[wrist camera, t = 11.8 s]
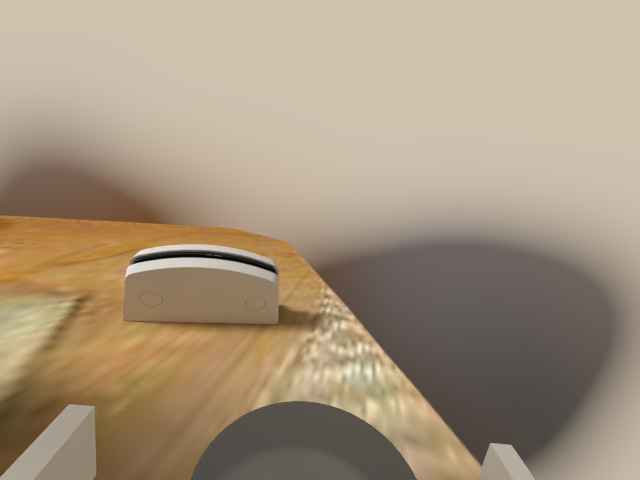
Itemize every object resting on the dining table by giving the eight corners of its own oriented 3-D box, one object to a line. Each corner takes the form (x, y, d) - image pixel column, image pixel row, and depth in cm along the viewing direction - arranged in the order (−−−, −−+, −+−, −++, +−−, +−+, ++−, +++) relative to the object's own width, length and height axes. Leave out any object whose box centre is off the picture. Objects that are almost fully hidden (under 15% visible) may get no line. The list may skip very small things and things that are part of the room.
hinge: (275, 304, 43) (287, 244, 38) (277, 333, 39) (290, 271, 34) (135, 299, 39) (126, 230, 34) (122, 331, 35) (109, 259, 30)
